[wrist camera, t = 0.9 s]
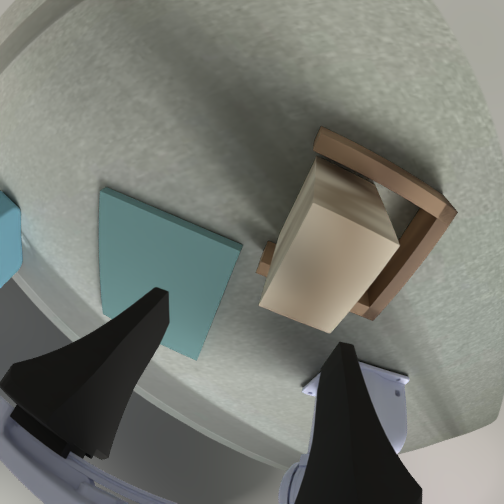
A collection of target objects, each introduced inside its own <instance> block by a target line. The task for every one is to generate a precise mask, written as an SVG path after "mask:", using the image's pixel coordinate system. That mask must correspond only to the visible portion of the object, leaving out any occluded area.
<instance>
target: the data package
mask: <svg viewBox="0 0 504 504" xmlns="http://www.w3.org/2000/svg"><path fill="white" fill-rule="evenodd" d="M22 260H23V258H22V244H21V212H20V209H19V208H18V207H17V206H16V205H15V204H14V203H13V202H12V201H11V200H10V199H9V198H8V197H7V196H6V195H5V194H4V193H3V192H2V191H1V190H0V288H1V287H2V286H3V285H4V284H5V283H6V282H7V281H8V280H9V279H10V278H11V277H12V276H13V275H14V274H15V273H16V272H17V271H18V270H19V268H20V267H21V264H22Z"/></svg>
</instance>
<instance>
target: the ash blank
mask: <svg viewBox="0 0 504 504" xmlns="http://www.w3.org/2000/svg"><path fill="white" fill-rule="evenodd" d="M399 246H400V244H399V242H398V239H397V236H396V234H395V231H394V229H393V226H392V223H391V221H390V219H389V216H388V214H387V211H386V209H385V207H384V204H383V202H382V200H381V197H380V195H379V193H378V191H377V188H376V186H375V185H374V184H372V183H370V182H368V181H366V180H365V179H363V178H361V177H359V176H357V175H355V174H353V173H351V172H349V171H347V170H345V169H343V168H341V167H339V166H337V165H335V164H333V163H331V162H329V161H326V160H324V159H322V158H320V157H318V156H316V158H315V160H314V163H313V165H312V167H311V169H310V171H309V173H308V175H307V177H306V180H305V182H304V184H303V186H302V188H301V190H300V192H299V194H298V196H297V199H296V201H295V203H294V205H293V207H292V209H291V211H290V213H289V215H288V217H287V219H286V221H285V224H284V226H283V228H282V230H281V232H280V234H279V237H278V241H277V244H276V248H275V251H274V255H273V258H272V261H271V265H270V268H269V272H268V275H267V278H266V282H265V285H264V289H263V292H262V295H261V299H260V302H259V305H258V306H260V307H263V308H265V309H268V310H270V311H273V312H275V313H278V314H280V315H283V316H285V317H288V318H290V319H293V320H295V321H298V322H301V323H303V324H306V325H308V326H311V327H314V328H316V329H319V330H322V331H324V332H327V333H331V332H332V331H333V330H334V329H335V327H336V326H337V325H338V324H339V323H340V322H341V320H342V319H343V318H344V317H345V316H346V315H347V313H348V312H349V311H350V310H351V309H352V307H353V306H354V305H355V304H356V303H357V301H358V300H359V299H360V298H361V296H362V295H363V294H364V293H365V291H366V290H367V289H368V288H369V286H370V285H371V284H372V283H373V281H374V280H375V279H376V277H377V276H378V275H379V274H380V272H381V271H382V270H383V268H384V267H385V266H386V264H387V263H388V261H389V260H390V259H391V257H392V256H393V255H394V253H395V252H396V250H397V249H398V248H399Z"/></svg>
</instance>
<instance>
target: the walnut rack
mask: <svg viewBox="0 0 504 504" xmlns="http://www.w3.org/2000/svg"><path fill="white" fill-rule="evenodd" d="M313 151H315V152H317V153H319V154H322V155H324V156H326V157H328V158H330V159H332V160H334V161H336V162H338V163H341V164H343V165H345V166H347V167H349V168H351V169H353V170H355V171H356V172H358V173H360V174H362V175H364V176H366V177H368V178H370V179H372V180H374V181H375V182H377V183H379V184H381V185H383V186H385V187H386V188H388V189H390V190H392V191H393V192H395V193H397V194H399V195H400V196H402V197H404V198H405V199H407V200H409V201H411V202H412V203H414V204H415V205H417V206H419V207H420V209H419V211H418V212H417V214H416V215H415V217H414V218H413V220H412V221H411V223H410V224H409V226H408V227H407V229H406V230H405V232H404V233H403V235H402V236H401V238H400V239H399V241H398V242H399V244H400V246H399V248H398V249H397V250H396V252H395V253H394V255H393V256H392V257H391V259H390V260H389V261H388V263H387V264H386V266H385V267H384V268H383V270H382V271H381V272H380V274H379V275H378V276H377V277H376V279H375V280H374V281H373V283H372V284H371V285H370V286H369V288H368V289H367V290H366V291H365V293H364V294H363V295H362V296H361V298H360V299H359V300H358V301H357V303H356V304H355V305H354V306H353V307H352V309H351V310H350V311H349V312H352V313H354V314H357V315H359V316H362V317H364V318H367V319H369V320H372V321H373V320H374V319H375V318H376V317H377V316H378V315H379V314H380V313H381V311H382V310H383V309H384V308H385V307H386V306H387V305H388V304H389V302H390V301H391V300H392V299H393V298H394V297H395V295H396V294H397V293H398V292H399V291H400V290H401V288H402V287H403V286H404V285H405V284H406V282H407V281H408V280H409V279H410V277H411V276H412V275H413V274H414V272H415V271H416V270H417V269H418V267H419V266H420V265H421V263H422V262H423V261H424V260H425V258H426V257H427V256H428V254H429V253H430V252H431V250H432V249H433V248H434V246H435V245H436V243H437V242H438V241H439V239H440V238H441V236H442V235H443V234H444V232H445V231H446V229H447V228H448V226H449V225H450V223H451V222H452V220H453V219H454V217H455V216H456V214H457V213H458V212H457V211H456V209H455V208H454V207H453V206H452V205H451V203H450V202H449V201H448V200H447V199H446V198H445V196H444V195H442V194H441V193H440V192H438V191H437V190H435V189H434V188H432V187H431V186H429V185H428V184H426V183H424V182H423V181H421V180H420V179H418V178H417V177H415V176H413V175H412V174H410V173H409V172H407V171H405V170H404V169H402V168H400V167H399V166H397V165H395V164H394V163H392V162H390V161H388V160H387V159H385V158H383V157H381V156H379V155H378V154H376V153H374V152H372V151H370V150H368V149H367V148H365V147H363V146H361V145H359V144H357V143H355V142H353V141H351V140H349V139H347V138H345V137H343V136H341V135H339V134H337V133H335V132H333V131H331V130H328V129H326V128H324V127H322V126H321V127H320V129H319V131H318V134H317V136H316V138H315V140H314V147H313ZM275 248H276V244H275V243H273V242H270V241H268V242H267V244H266V247H265V249H264V251H263V254H262V256H261V259H260V262H259V265H258V268H257V271H256V273H258V274H260V275H263V276H265V277H267V275H268V272H269V268H270V265H271V261H272V258H273V255H274V251H275Z"/></svg>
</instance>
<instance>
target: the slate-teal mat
mask: <svg viewBox="0 0 504 504" xmlns="http://www.w3.org/2000/svg"><path fill="white" fill-rule="evenodd" d="M242 246H243V245H241V244H239V243H237V242H234V241H232V240H230V239H227V238H225V237H223V236H220V235H218V234H216V233H213V232H211V231H209V230H206V229H204V228H201V227H199V226H197V225H194V224H192V223H190V222H187V221H185V220H183V219H180V218H178V217H176V216H173V215H171V214H169V213H166V212H164V211H162V210H159V209H157V208H154V207H152V206H150V205H147V204H145V203H143V202H140V201H138V200H136V199H133V198H131V197H128V196H126V195H124V194H121V193H119V192H117V191H114V190H112V189H110V188H107V187H105V188H104V189H102V190H101V191H100V201H99V267H100V285H101V298H102V309H103V314H104V315H106V316H108V317H109V318H111V319H113V318H115V317H116V316H117V315H119V314H120V313H122V312H123V311H124V310H126V309H127V308H128V307H130V306H131V305H132V304H134V303H135V302H136V301H138V300H139V299H140V298H141V297H143V296H144V295H145V294H147V293H148V292H149V291H150V290H152V289H153V288H154V287H158V288H161V289H164V290H166V291H169V315H170V323H169V326H168V328H167V330H166V332H165V335H164V337H163V339H162V341H161V343H160V344H161V345H163V346H166V347H168V348H170V349H172V350H174V351H176V352H178V353H181V354H183V355H185V356H187V357H190V358H192V359H194V360H196V361H197V359H198V356H199V354H200V351H201V349H202V346H203V344H204V341H205V339H206V336H207V334H208V331H209V329H210V326H211V323H212V321H213V318H214V316H215V313H216V311H217V308H218V306H219V303H220V301H221V298H222V296H223V293H224V291H225V288H226V286H227V283H228V281H229V278H230V276H231V273H232V271H233V268H234V266H235V264H236V261H237V259H238V256H239V254H240V251H241V249H242Z"/></svg>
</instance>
